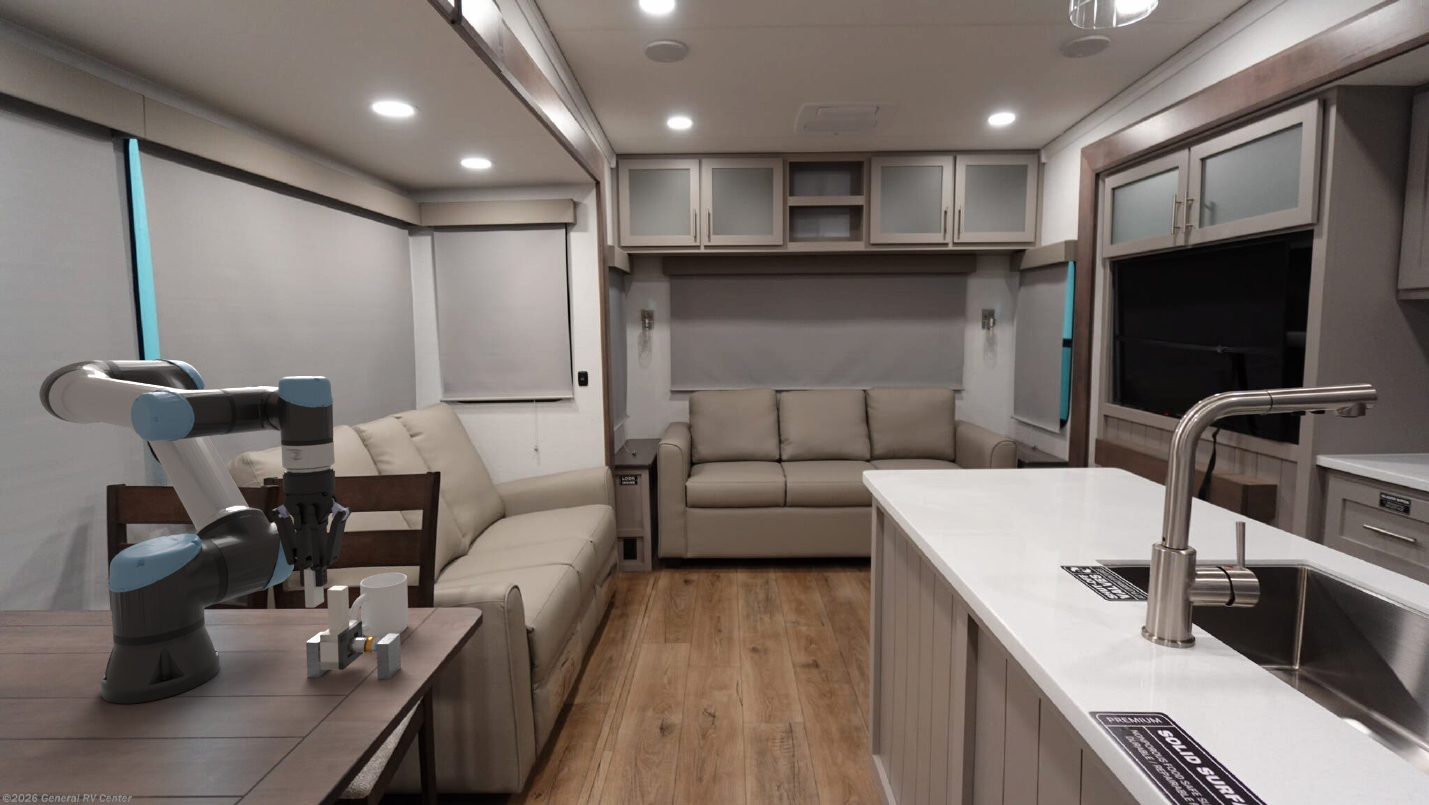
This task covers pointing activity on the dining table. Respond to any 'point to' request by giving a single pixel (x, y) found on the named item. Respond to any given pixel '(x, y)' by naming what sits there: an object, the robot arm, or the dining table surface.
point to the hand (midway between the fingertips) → (314, 604)
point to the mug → (382, 605)
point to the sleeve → (338, 631)
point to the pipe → (382, 646)
